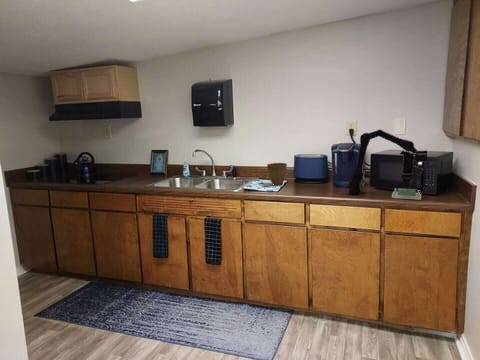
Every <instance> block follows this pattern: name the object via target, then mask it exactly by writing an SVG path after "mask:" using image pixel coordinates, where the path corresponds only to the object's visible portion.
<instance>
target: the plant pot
mask: <svg viewBox="0 0 480 360" xmlns="http://www.w3.org/2000/svg"><path fill="white" fill-rule="evenodd" d="M287 166H288V164H287V163H285V162H273V163H268V164H266V167H267V171H268V172H267V173H268V175H269V179H270V182H271V184H272V185H273V184H274V185H280V186H282V185H281V184H284V182H285V177H286V174H287ZM274 185H273V186H274Z"/></svg>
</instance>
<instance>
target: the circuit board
mask: <svg viewBox="0 0 480 360" xmlns="http://www.w3.org/2000/svg"><path fill="white" fill-rule="evenodd" d="M397 192H398V194H397V195H403V196H416V193H417V188H408V189H406V188H399V187H398V188H397Z"/></svg>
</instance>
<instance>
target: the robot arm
mask: <svg viewBox="0 0 480 360" xmlns="http://www.w3.org/2000/svg"><path fill="white" fill-rule="evenodd" d="M377 137H379V138H382V139H385V140H387V141H389V142H391V143H393V144H396V145H397V146H399V147H400V148H401V149H403V150H402V151H401V152H400V153H399V155H402V158H403V159H402V173H401V175H400V177H401V179H402V183H403V185H404V187H405V189H409V186H410V182H411V181H412V180H414V173H416V174H418V175H422V174H423V172H424V170H425V169H424V168H423V167H422V165H421V164H418V165H415V163H414V161H416V163H428V150H417V149H418V148H416V147H415V143H414V142H413V141H412V140H408V139H404V138H400V137H399V136H396V135H393V134H391V133H389V132H386V131H384V130H383V129H377V130H374V131H371V132H364V133H362V134H361V135H360V139H359V143H360V144H359V145H360V146H359V147H360V149H359V152H358V153H359V154H358V159H357V163H356V168H355V171H354V173H353V176H352V179H350V181H349V182H348V186H349V188H348V190H349V191H348V195H355V196H356V195H357V196H358V195H360V194H361V193H362V192H361V185H360V182H361V181H362V180H363V179H364V177H365V173H366V171H364V165H365V159H366V155H367V150H368V147H369V144H370V142H371V140H372V139H375V138H377Z"/></svg>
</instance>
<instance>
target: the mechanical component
mask: <svg viewBox="0 0 480 360" xmlns="http://www.w3.org/2000/svg"><path fill="white" fill-rule="evenodd" d="M370 181H371V178H369V177H366V178H365V176H364V179H363V180H362V181H361V182H360V183H359V184H360V186H361V193H363V192H364V186H365V185H366V184H368V183H370Z"/></svg>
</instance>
